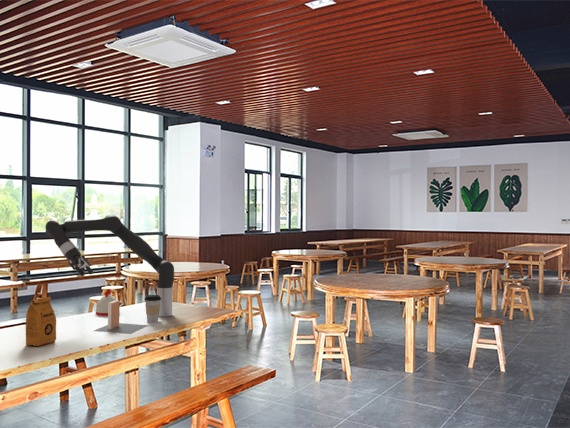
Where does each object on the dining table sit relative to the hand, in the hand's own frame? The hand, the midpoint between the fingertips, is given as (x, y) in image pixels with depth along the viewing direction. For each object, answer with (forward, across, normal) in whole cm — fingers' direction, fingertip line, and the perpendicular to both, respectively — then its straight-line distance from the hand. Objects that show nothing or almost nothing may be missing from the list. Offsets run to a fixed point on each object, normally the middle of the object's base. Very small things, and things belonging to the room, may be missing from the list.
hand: (87, 274), depth 277 cm
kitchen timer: (+16, +37, +24) cm, 47 cm away
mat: (+35, +2, +4) cm, 35 cm away
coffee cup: (+40, +21, -3) cm, 46 cm away
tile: (+31, +2, +8) cm, 32 cm away
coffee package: (+21, -35, +22) cm, 46 cm away
